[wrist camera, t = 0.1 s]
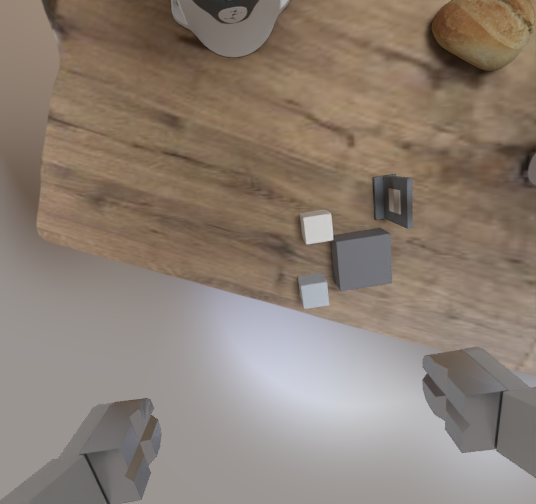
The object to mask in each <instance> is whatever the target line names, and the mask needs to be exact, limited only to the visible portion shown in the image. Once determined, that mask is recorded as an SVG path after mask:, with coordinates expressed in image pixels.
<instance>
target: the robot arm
mask: <svg viewBox="0 0 536 504" xmlns="http://www.w3.org/2000/svg"><path fill="white" fill-rule="evenodd" d="M289 2H290V0H171V9H172V15H173V17H174V19H175V21H176V22H177V23H179V24H180V25H182V26H184V27H186V28H188V29H190V30H191V31H192V32H193V33H194V34H195V35H196V36H197V37H198V39H199V40H200V41H201V42H202V43H203V44H204V45H205V46H206V47H207V48H209V49H210V50H211V51H213V52H215V53H217V54H219V55H222V56H226V57H241V56H245V55H248V54H250V53H252V52H254V51H256V50H257V49H258V48H259V47H261V46H262V45H263V44H264V42H265V41H266V40H267V38H268V37H269V35H270V34H271V32H272V30H273V27H274V24H275V22H276V19H277V17H278V15H279V14H280V13H281V12H282V11H283V10H284V9H285V8H286V6H287V5H288V4H289ZM177 4H178V5H179V6H177ZM423 368H424V369H425V371H426V372H427V374H426V376H425V377H424V378H423V391H424V394H425V398H426V401H427V403H428V405H429V407H430V408H431V410H432V411H433V413H434V414H435V415H436V416H438V417H439V418H441V419H443V420H444V421H445V430H446V431H447V433H448V434H449V435H450V437H451V438H452V440H453V441H454V443H455V444H456V445H457V447H458V448H459V449H460V451H461V452H462V453H466V452H475V451H484V450H492V449H497V450H496V451H497V452H499V453H500V454H501V455H503V456H504V457H506V458H507V459H509V460H510V461H512V462H513V463H515V464H516V465H518V466H519V467H520V468H522V469H524V470H525V471H526V472H528V473H529V474H531V475H532V476H534V477H535V478H536V387H532V388H530V387H529V386H528V385H526V384H525V383H524V382H523V381H522V380H520V379H519V378H518V377H517V376H515V375H514V374H513V373H512V372H511V371H509V370H508V369H507V368H506V367H505V366H503V365H502V364H501V363H500V362H498V361H497V360H496V359H495V358H494V357H492V356H491V355H490V354H489V353H487V352H486V351H485V350H484V349H482V348H480V347H472V348H466V349H460V350H456V351H450V352H444V353H438V354H431V355H425V356H424V359H423ZM153 409H154V407H153V405H152V402H151V400H150V399H148V398H144V399H136V400H128V401H120V402H114V403H107V404H99V405H97V406H95V407H94V408H92V410H91V411H90V413H89V414H88V416H87V417H86V418H85V420H84V421H83V423H82V424H81V426H80V427H79V429H78V430H77V432H76V433H75V434H74V436H73V437H72V439H71V440H70V442H69V443H68V445H67V446H66V448H65V449H64V451H63V452H62V453H61V455H60V456H59V458H58V459H53V460H51V461H50V462H49V463H47V464H46V465H45V466H43V467H42V468H41V469H40V470H38V471H37V472H36V473H35V474H33V475H32V476H31V477H29V478H28V479H27V480H26V481H24V482H23V483H22V484H20V485H19V486H18V487H17V488H15V489H14V490H13V491H12V492H10V493H9V494H8V495H6V496H5V497H4V498H3V499H1V500H0V504H122V503H127V502H133V501H138V500H142V497H143V494H144V491H145V488H146V486H147V483H148V480H149V477H150V474H151V472H150V469H149V466H148V465H149V464H150V463H151V462H152V461H153V460H154V459H155V458H156V457H157V454H158V451H159V448H160V441H161V428H160V424H159V421H158V419H156V418H155V417H154V416H152V415H151V414H152V411H153Z"/></svg>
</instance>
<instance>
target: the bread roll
mask: <svg viewBox="0 0 536 504" xmlns="http://www.w3.org/2000/svg"><path fill="white" fill-rule="evenodd" d="M534 22H535V12H534V7H533V5H532V3H531V1H530V0H451V1H450V2H448V3H447V4H446V5H445V6H443V7H442V8H441V9H440V11H439V12H438V13H437V15H436V16H435V18H434V20H433V23H432V31H433V35H434V37H435V39H436V40H437V42H438V43H439V44H440V45H441V46H442V47H443V48H444V49H446V50H447V51H449V52H451V53H453V54H454V55H456V56H458V57H459V58H461V59H463V60H465V61H467V62H468V63H470V64H472V65H474V66H476V67H477V68H479V69H482V70H486V71H493V70H497V69H499V68H502V67H504V66H506V65H507V64H509V63H510V62H511V61H512V60H514V59H515V58H516V56H517V55H518V54H519V53H520V51H521V50H522V48H523V47H524V45H525V43H526V42H527V41H528V40H529V36H530V34H531V33H532V32H533V25H534Z"/></svg>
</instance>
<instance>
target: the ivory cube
mask: <svg viewBox="0 0 536 504" xmlns="http://www.w3.org/2000/svg"><path fill="white" fill-rule="evenodd" d="M300 221H301V229H302V237H303V239H304V241H305V243H306V245H307V244H313V243H320V242H326V241H332V240H334V239H333V228H332V218H331V213H330V212H328V211H327V210H326V209H323V210H317V211H310V212H304V213H300Z"/></svg>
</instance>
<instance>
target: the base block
mask: <svg viewBox="0 0 536 504" xmlns="http://www.w3.org/2000/svg"><path fill="white" fill-rule="evenodd" d="M333 239H334V240H332V241H331V250H332V261H333V271H334V282H335V283H336V285H337V286H338V288H339V289H340V291H345V290H351V289H358V288H364V287H371V286H377V285H383V284H390V283H392V270H391V234H390V233H389V232H387V231H385V230H383V229H381V228H377V229H370V230H364V231H358V232H351V233H345V234H339V235H333Z"/></svg>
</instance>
